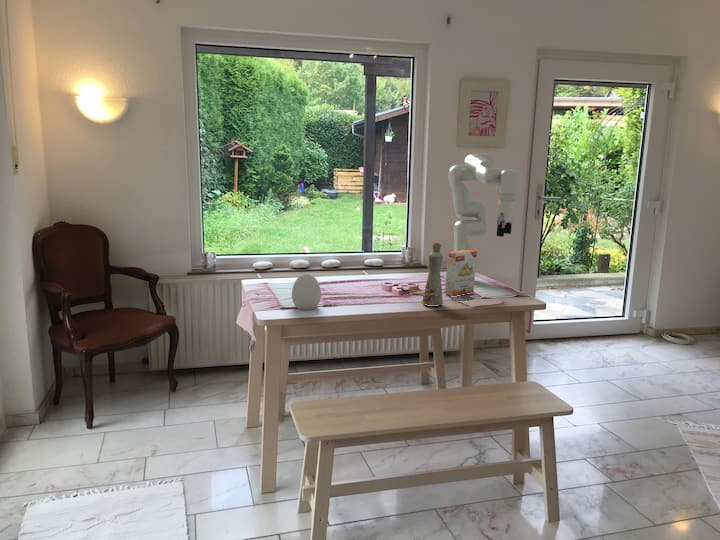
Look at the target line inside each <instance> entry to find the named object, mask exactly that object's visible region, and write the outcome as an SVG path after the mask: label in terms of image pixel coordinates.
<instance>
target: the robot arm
mask: <svg viewBox="0 0 720 540" xmlns="http://www.w3.org/2000/svg"><path fill="white" fill-rule="evenodd" d="M518 172H519V171H517V170H515V169H511V168H505V167H504V168H503V167H501V168H500V167H495V159H494V157H493V156H492V155H491V154H489V153H470V154H468V155H467V156H466V157H465V159H464V163H463V164H455V165H453V166H451V167H450V168H449V171H448V177H447V178H448V185H449V187H450V189H451V193H452V203H453V209H454V211H453V212H454V214H455V217H457V218H461V220H458V221H456V222H455V223H454V224H453V228H452V229H453V230H452V231H453V238H454V239H453V240H454V242H453V251H462V250H472V251H474V250H473V249H474V248H473V244H472V242H471V240H470V239H482V238H485V236H487V233H488V226H487V225H488V224H487V214H486V207H485V205H484V202H483V201H482V200H480V199H471V198H470V191H469V188H468V187H467V185H466V184H465V183H464V182H480V183H482V184H484V185H487V186H488V185H489V186H490V185H492V186H493V185H496V186H497V185H498V186H499V191H498V203H497V204H498V205H497V210H496V217H495V222H496V225H497V226H496V237H502V238H503V237H504V236H505V234H507V235H511V233H512V227H513V226H512V224H513V219H514V211H515V210H514V209H515V206H514V205H515V202H516V199H517V190H518V189H517V186H518V177H519V173H518Z"/></svg>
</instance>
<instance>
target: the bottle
mask: <svg viewBox="0 0 720 540" xmlns="http://www.w3.org/2000/svg"><path fill="white" fill-rule="evenodd" d="M441 247H442V245H441V243H439V242H435V243H433V244H432V251H431V252H430V253H429V254H428V265H429V270H428V274H427V279H426V283H425V288H424V291H423V292H424V296H423V297H422V300H421V301H422V305H424V304H427V305H441V306H443V305H442V304H444V300H443V289H442V288H443V287H442V279H441V267H442V264H443V263H442V262H443V258H444V254H443V253H442V252H441Z"/></svg>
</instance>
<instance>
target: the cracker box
mask: <svg viewBox="0 0 720 540" xmlns="http://www.w3.org/2000/svg"><path fill="white" fill-rule="evenodd" d="M477 254H478V251H475V250H462V251H454V250H453V251H452V250H451V251H447V261H446V272H445V273H446V275H445V287H444V288H445V289H444V295H445V294H446V295H445V296H448V295H450V296H449V297H451V296H457V295H462V294H467V293H471V292H473V293H474V291H475V290H474V289H475V279H476V266H477V257H478V255H477Z"/></svg>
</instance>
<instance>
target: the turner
mask: <svg viewBox="0 0 720 540" xmlns="http://www.w3.org/2000/svg"><path fill="white" fill-rule="evenodd" d="M410 289H411V290H410V291H411V292H412V293H411V294H412V295H414V296H415V295H416V296H418V295H420V296H419V297H422V296H424V292H425V291H421V290H417V289H412V288H410Z"/></svg>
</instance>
